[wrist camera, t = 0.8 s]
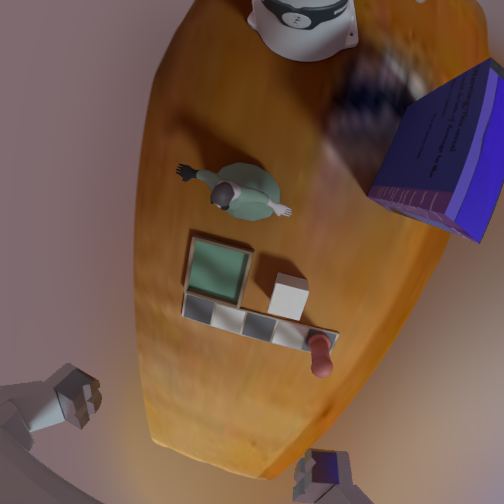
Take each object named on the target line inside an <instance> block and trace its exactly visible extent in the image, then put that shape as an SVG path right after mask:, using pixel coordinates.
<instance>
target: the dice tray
mask: <svg viewBox="0 0 504 504" xmlns="http://www.w3.org/2000/svg"><path fill="white" fill-rule="evenodd" d="M254 251H255V250H251V249H248V248H244V247H240V246H236V245H233V244H229V243H225V242H221V241H218V240H214V239H210V238H206V237H203V236H199V235H194V236H193V237H192V242H191V248H190V254H189V259H188V265H187V272H186V278H185V284H184V291H183V292H184V293H187V294H191V295H194V296H197V297H200V298H203V299H207V300H210V301H213V302H217V303H220V304H223V305H227V306H230V307H234V308H237V309H240V306H241V303H242V299H243V295H244V291H245V287H246V283H247V279H248V275H249V271H250V267H251V263H252V259H253V255H254Z"/></svg>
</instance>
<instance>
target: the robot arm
mask: <svg viewBox="0 0 504 504" xmlns="http://www.w3.org/2000/svg"><path fill="white" fill-rule="evenodd" d="M252 6H253V11H252V12H251V14H250V15H249V17H248V19H247V22H248V25H249V26H251V27H252V28H253V29H255V30H256V31H258V33H259V34H260V36H261V38H262V40H263V41H264V43H265V44H266V45H267V46H268V47H269V48H270V49H271V50H272V51H274V52H275V53H277V54H278V55H280V56H283V57H285V58H288V59H291V60H296V61H303V62H312V61H319V60H323V59H326V58H329V57H331V56H333V55H334V54H336V53H337V52H339V51H340V50H342V49H346V48H351V47H355V46H357V44H358V41H359V39H358V30H357V23H356V15H355V9H354V3H353V0H252ZM350 34H352V35H353V36H350ZM99 387H100V383H99V380H97V379H95V378H93V377H92V376H90V375H88V374H87V373H85V372H83V371H82V370H80V369H79V368H77V367H75V366H74V365H72V364H70V363H66V364H65V365H63V366H62V367H61V368H60V369H59V370H57V371H56V372H55V373H54V374H53V375H52V376H50V377H49V378H48V379H47V380H46V381H45V382H43V381H35V382H28V383H21V384H13V385H5V386H0V504H104V503H102V502H101V501H99V500H97V499H95V498H93V497H92V496H90V495H88V494H86V493H85V492H83V491H82V490H80V489H78V488H77V487H75V486H74V485H72V484H71V483H69V482H68V481H66V480H64V479H63V478H62V477H60V476H59V475H58V474H56V473H55V472H53V471H52V470H51V469H49V468H48V467H47V466H45V465H44V464H43V463H41V462H40V461H39V460H38V459H36V458H35V457H34V456H33V455H32V454H30V453H29V451H30V449H31V448H32V447H33V446H34V445H35V441H34V439H33V437H32V435H31V434H30V432H32V431H35V430H39V429H41V428H45V427H48V426H51V425H54V424H57V423H60V422H63V421H65V420H66V421H68V422H69V423H71V424H73V425H74V426H76V427H78V428H79V429H82V428H83V427H84V426H85V425H86V424H87V423H88V421H89V420H90V418H89V415H91V414H94V413H96V412H97V410H98V409H99V407H100V405H101V401H102V395H101V393H100V392H99V390H98V388H99ZM294 480H295V481H296V482H297V484H296V486H295V487H294V488H293V501H294V502H303V503H314V504H374V503H373V502H372V501H371V500H370V499H369V498H368V497H367V496H366V495H365V494H364V493H363V492H362V491H361V489H360V488H359V487H358V486H357V485H353V482H352V474H351V467H350V460H349V454H348V452H345V451H334V450H323V449H313V448H309V449H307V451H306V452H305V457H304V458H301V459H300V460H299V462H298V463H297V465H296V468H295V472H294Z"/></svg>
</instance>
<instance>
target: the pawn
mask: <svg viewBox="0 0 504 504" xmlns="http://www.w3.org/2000/svg"><path fill="white" fill-rule="evenodd" d="M330 346H331V343H330V338H329V337H328V336H327V335H326V334H324V333H316V334H314V335H312V336H311V337H310V338H309V340H308V349H309V351H310V352H311V355H312V365H311V370H312V373H313V374H314V375H315V376H316V377H319V378H324V377H327V376H328V375H330V373H331V372H332V370H333V364H332V361H331V359H330V353H329V349H330Z"/></svg>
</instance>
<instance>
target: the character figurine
mask: <svg viewBox="0 0 504 504" xmlns="http://www.w3.org/2000/svg"><path fill="white" fill-rule="evenodd" d="M179 165H180V166H182V167H178V166H177V167H178V168H180V169H181V170H179V169H176V170H177V171H179V172H181V173H179V172H176V173H177V174H179V175H180V176H182V177H183V179H182V181H185V182H187V181H188V180H190V179H191V178H197V179H201V180H203V181H205V182H206V183H207V185H208V187H209V188H210V189H211V190H212V194H211V196H210V197H211V203H212V204H213V203H214V204H216V205H217V206H218V207H219V208H220V207H221V208H222V210H225V211H226V212H228V213H229V214H231V215H232V216H234V217H235V218H240V219H245V220H250V221H255V220H259V219H263V218H267V217H269V216H270V215H271V214H272V213H273V212H275V213H276V214H277V215H278V216H280V214H282V215H286V216H290V215H292V214H291V213H289V212H292V211H290V210H292V209H291V208H289V207H287V206H285V205H283V204H279V201H280V189H279V187H278V186H277V184H276V182H275V180H274V179H273V177H272V175H270V174H269V173H267V172H266V171H264V170H263V169H261V168H260V167H258V166H257V165H252V164H246V163H239V162H238V163H235V164H231V165H228V166H225V167H222V169H221V170H220V171H219V172H218V173H217V174H216V173H213V172H211V171H210V170H194V169H192V168H191V167H190V166H188V165H183V164H179ZM288 209H290V210H288ZM286 211H288V212H286ZM285 213H287V214H290V215H287V214H285Z"/></svg>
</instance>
